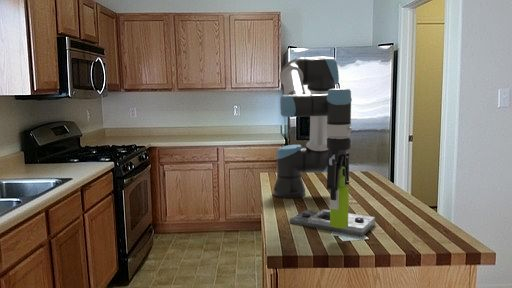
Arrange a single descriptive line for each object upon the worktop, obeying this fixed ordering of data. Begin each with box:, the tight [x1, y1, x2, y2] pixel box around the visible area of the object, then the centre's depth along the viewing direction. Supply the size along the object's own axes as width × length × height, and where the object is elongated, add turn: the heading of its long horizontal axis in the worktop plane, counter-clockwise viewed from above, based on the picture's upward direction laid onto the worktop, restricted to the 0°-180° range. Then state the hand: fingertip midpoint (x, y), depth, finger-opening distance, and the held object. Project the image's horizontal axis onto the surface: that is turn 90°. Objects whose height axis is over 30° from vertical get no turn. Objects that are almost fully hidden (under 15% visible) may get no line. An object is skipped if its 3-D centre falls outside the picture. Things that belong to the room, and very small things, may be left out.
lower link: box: [289, 209, 342, 233], centre depth 152 cm, size 20×14×2 cm, turn 57°
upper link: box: [308, 208, 376, 237], centre depth 148 cm, size 20×14×4 cm, turn 57°
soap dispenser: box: [329, 166, 350, 228], centre depth 133 cm, size 6×7×20 cm
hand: (338, 206), depth 134 cm, fingers closed on soap dispenser, 6 cm apart
